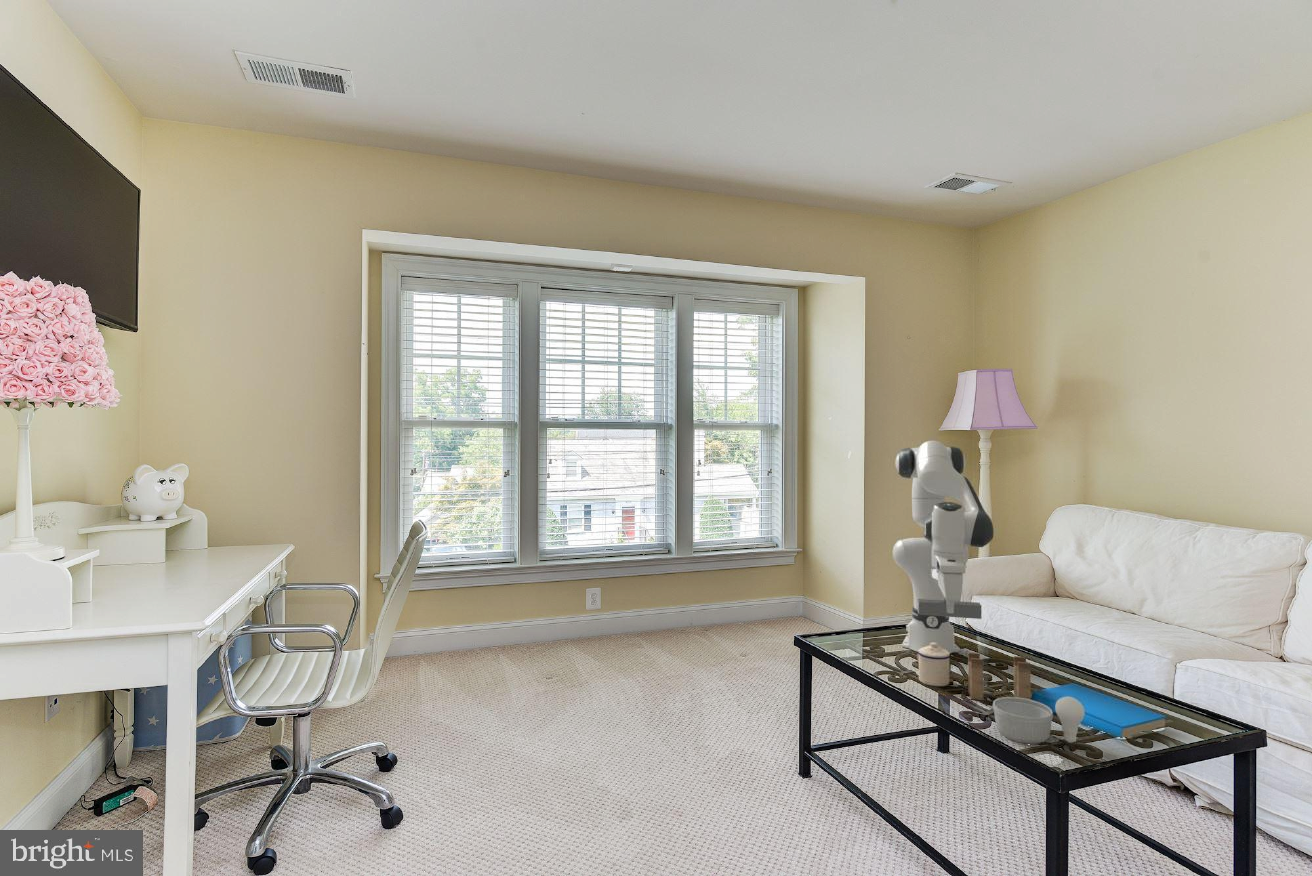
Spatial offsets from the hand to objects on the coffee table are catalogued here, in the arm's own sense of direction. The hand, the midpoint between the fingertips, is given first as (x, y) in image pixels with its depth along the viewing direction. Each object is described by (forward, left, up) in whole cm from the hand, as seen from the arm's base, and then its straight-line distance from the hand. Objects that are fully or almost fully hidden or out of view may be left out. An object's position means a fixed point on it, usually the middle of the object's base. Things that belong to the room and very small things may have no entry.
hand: (948, 610), depth 188 cm
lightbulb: (+18, +25, -26) cm, 40 cm away
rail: (0, 0, -1) cm, 1 cm away
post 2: (-8, +20, -26) cm, 34 cm away
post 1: (-8, +8, -26) cm, 28 cm away
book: (-1, +36, -27) cm, 45 cm away
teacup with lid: (-18, -3, -26) cm, 32 cm away
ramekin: (+16, +15, -26) cm, 34 cm away
